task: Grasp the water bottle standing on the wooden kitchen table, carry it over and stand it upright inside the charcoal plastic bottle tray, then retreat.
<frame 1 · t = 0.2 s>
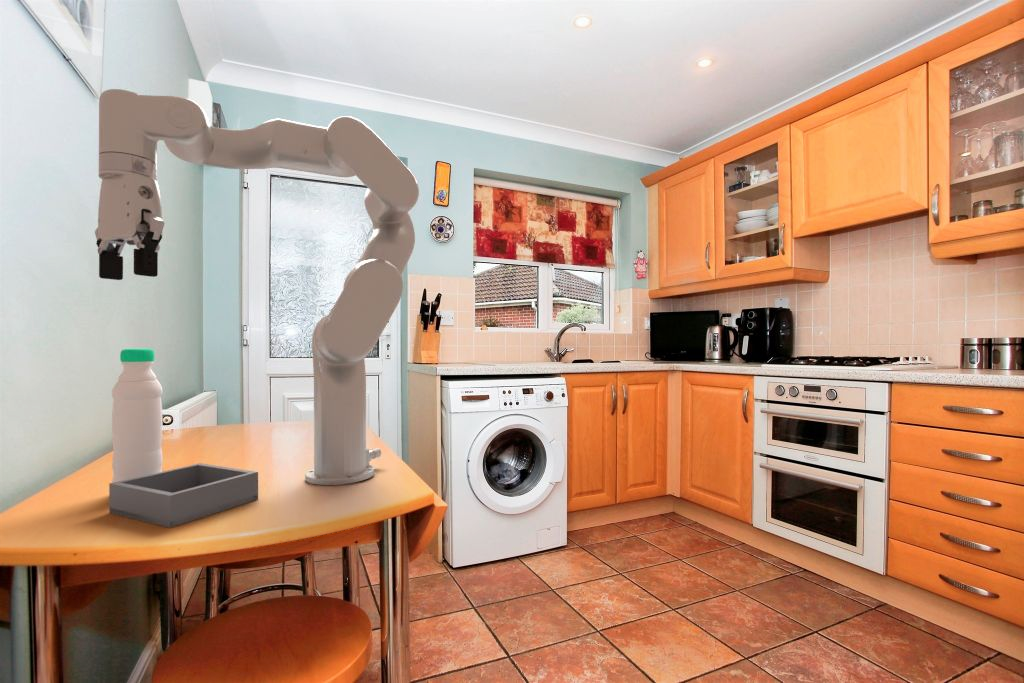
hand: (128, 277, 81), 37 cm above the table, tool pointing down, fingers open, 9 cm apart
bottle tray: (186, 505, 79), on the table
water bottle: (138, 493, 87), on the table
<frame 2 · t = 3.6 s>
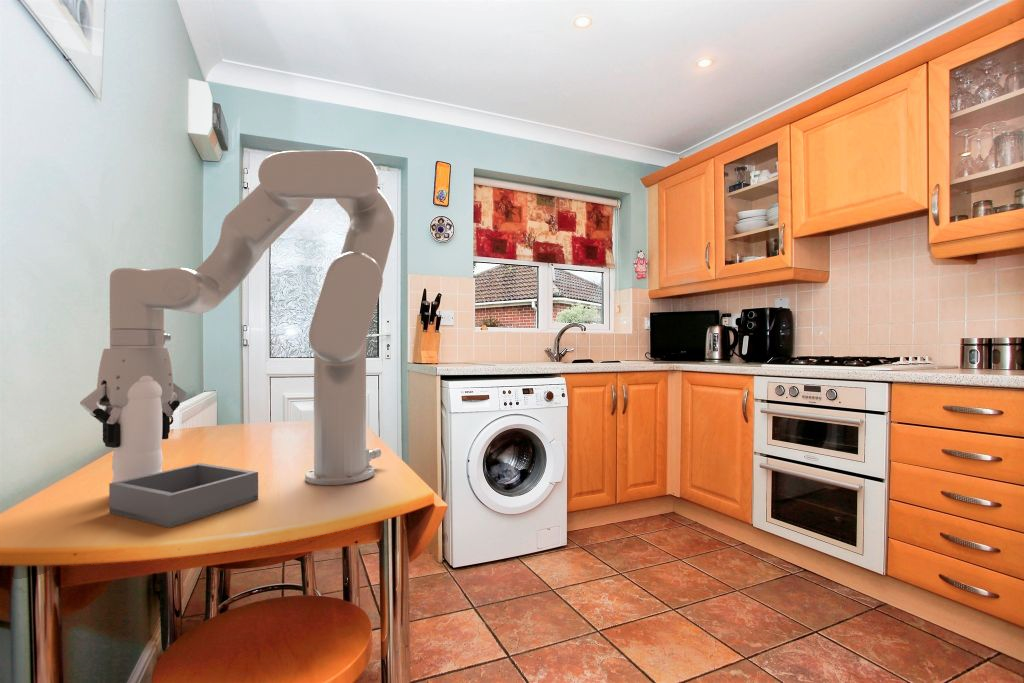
hand: (137, 441, 87), 9 cm above the table, tool pointing down, fingers closed on water bottle, 7 cm apart
water bottle: (138, 493, 87), on the table, touching gripper
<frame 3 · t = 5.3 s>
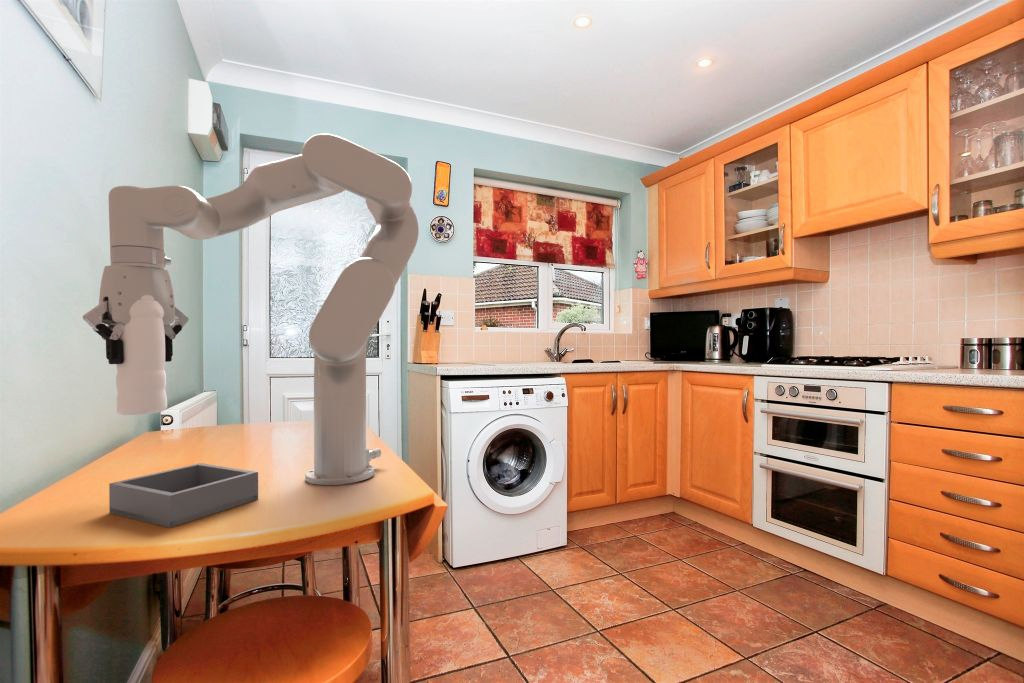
hand: (141, 361, 87), 23 cm above the table, tool pointing down, fingers closed on water bottle, 7 cm apart
water bottle: (142, 413, 87), point 14 cm above the table, touching gripper
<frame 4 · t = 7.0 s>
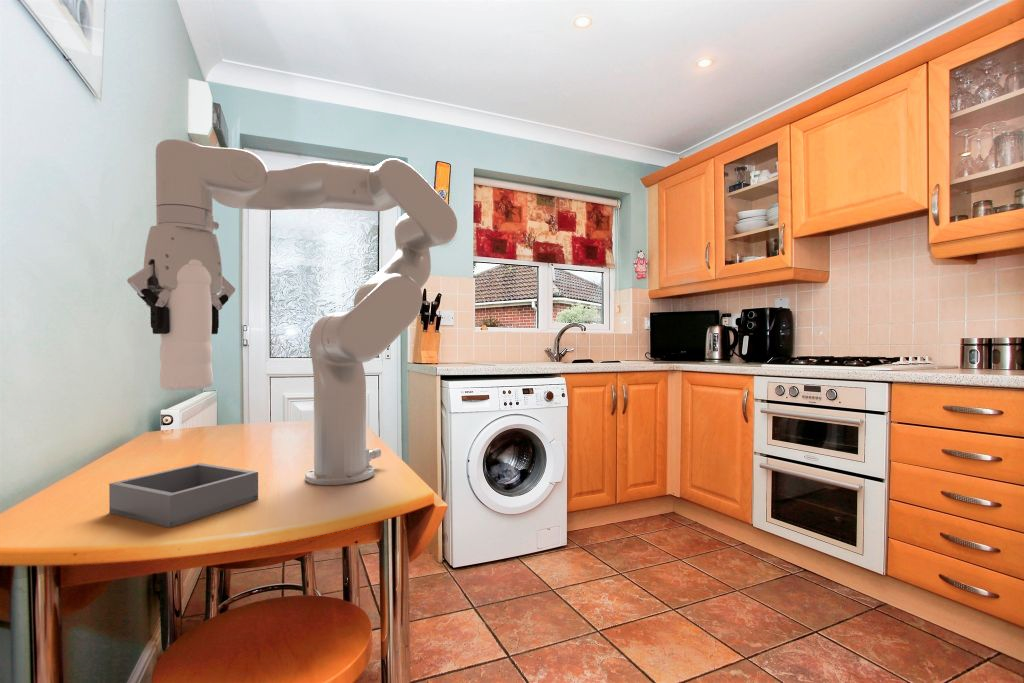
hand: (186, 333, 80), 28 cm above the table, tool pointing down, fingers closed on water bottle, 7 cm apart
water bottle: (187, 389, 80), point 19 cm above the table, touching gripper
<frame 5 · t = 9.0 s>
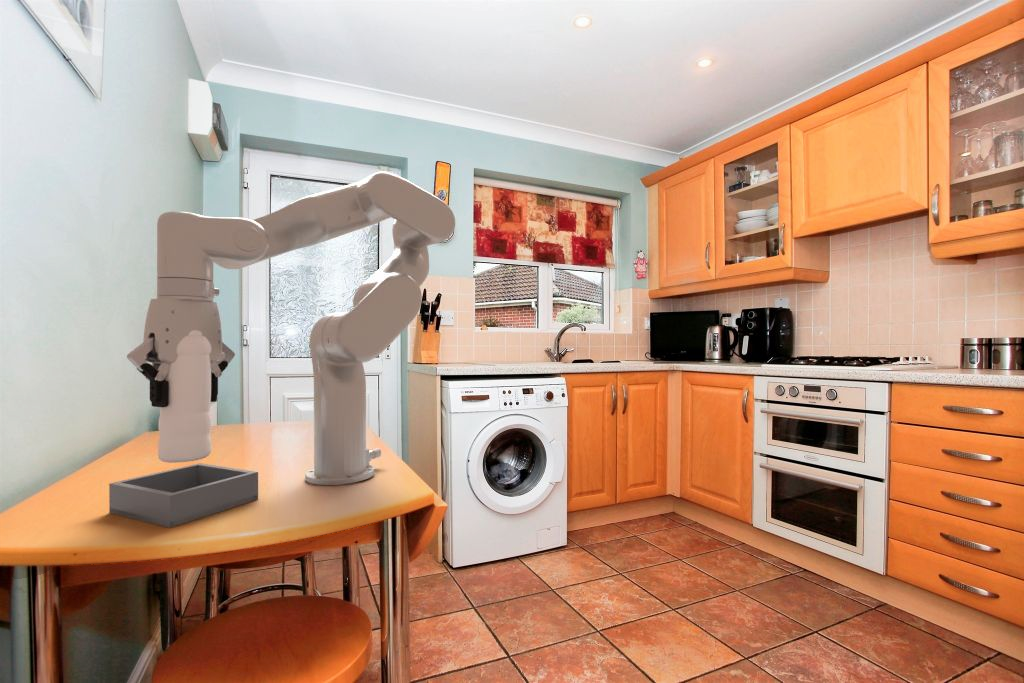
hand: (185, 403, 79), 16 cm above the table, tool pointing down, fingers closed on water bottle, 7 cm apart
water bottle: (185, 459, 79), point 7 cm above the table, touching gripper
when the fingers open (11 cm above the table, at t = 10.7 s): water bottle stays where it is, resting on bottle tray.
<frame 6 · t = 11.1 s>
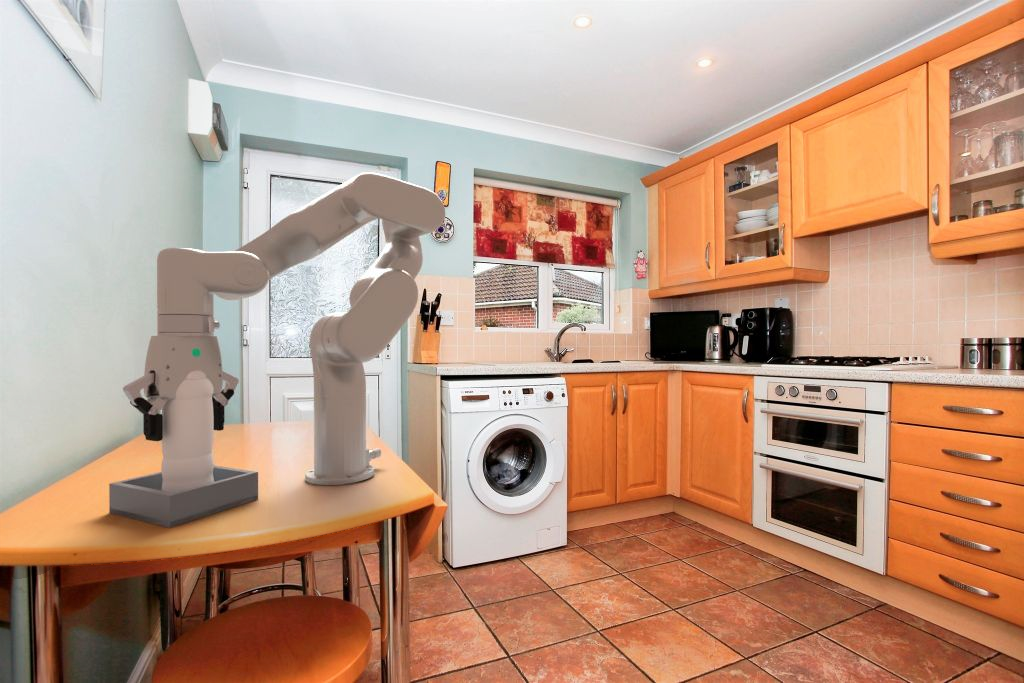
hand: (186, 434, 79), 11 cm above the table, tool pointing down, fingers open, 9 cm apart
water bottle: (188, 501, 80), point 1 cm above the table, touching bottle tray
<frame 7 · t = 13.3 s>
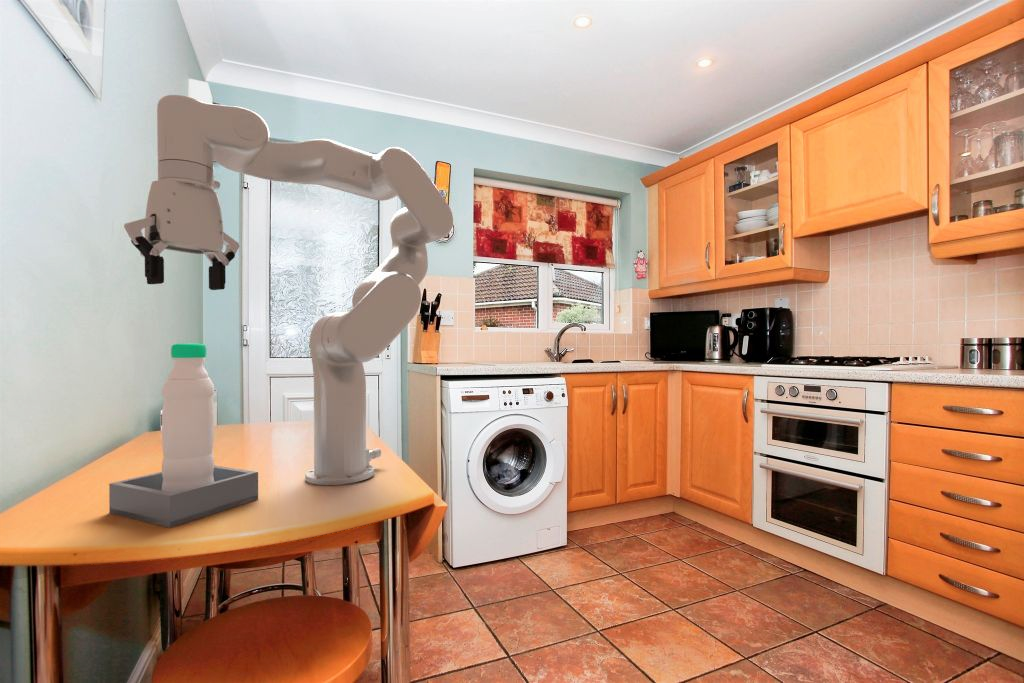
hand: (187, 286, 80), 35 cm above the table, tool pointing down, fingers open, 9 cm apart
nothing on the table moved.
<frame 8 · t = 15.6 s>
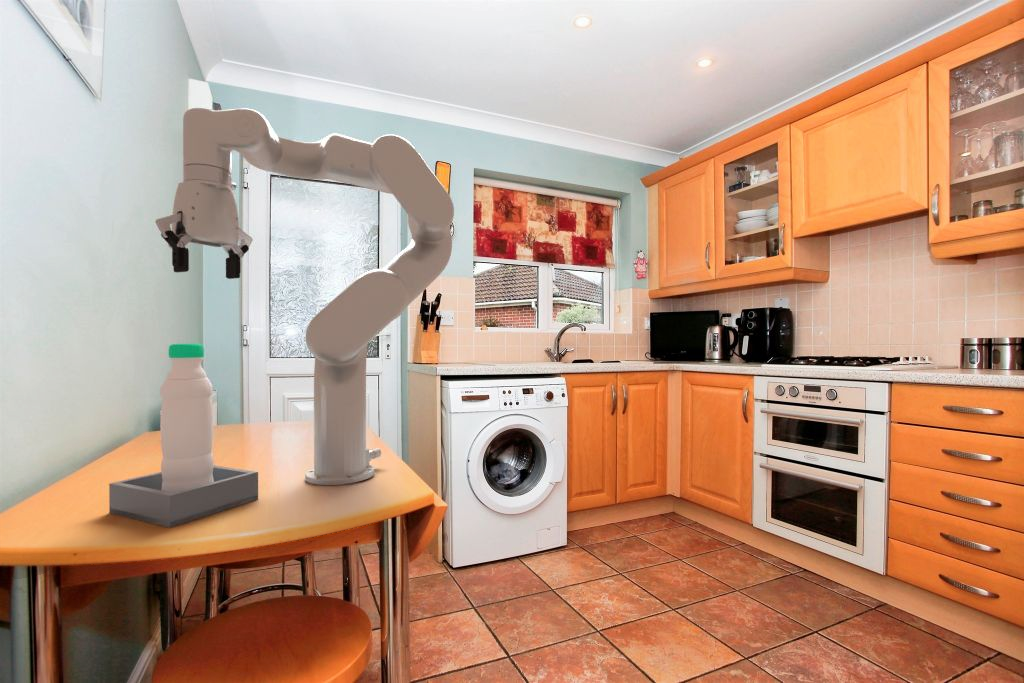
hand: (208, 275, 91), 38 cm above the table, tool pointing down, fingers open, 9 cm apart
nothing on the table moved.
at the end: water bottle inside the target area on the bottle tray (0.2 cm from its centre), point 0.6 cm above the bottle tray's base; water bottle tilted 0°; the gripper is holding nothing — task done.
